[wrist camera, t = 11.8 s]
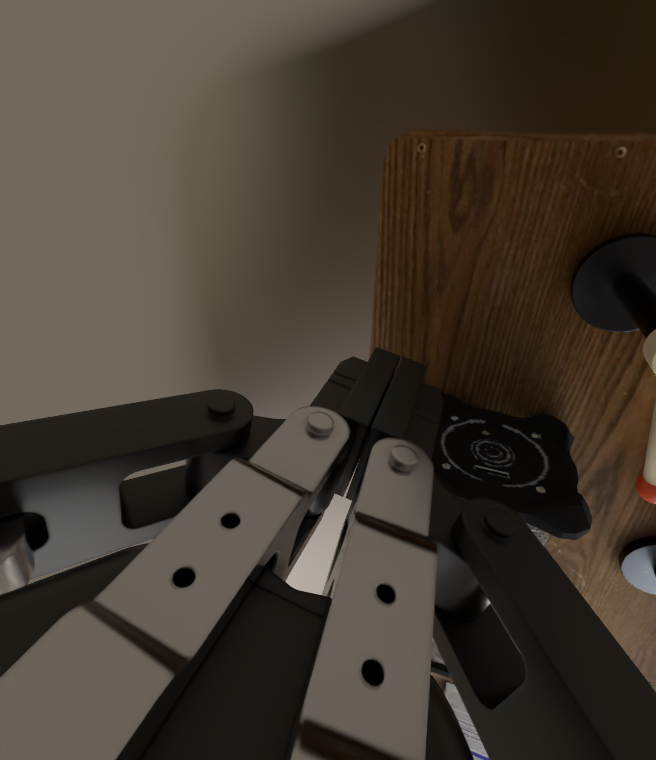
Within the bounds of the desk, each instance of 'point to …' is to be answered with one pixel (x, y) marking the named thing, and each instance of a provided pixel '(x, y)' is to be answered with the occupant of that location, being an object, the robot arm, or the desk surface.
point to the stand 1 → (618, 285)
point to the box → (465, 722)
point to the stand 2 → (640, 564)
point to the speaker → (510, 471)
